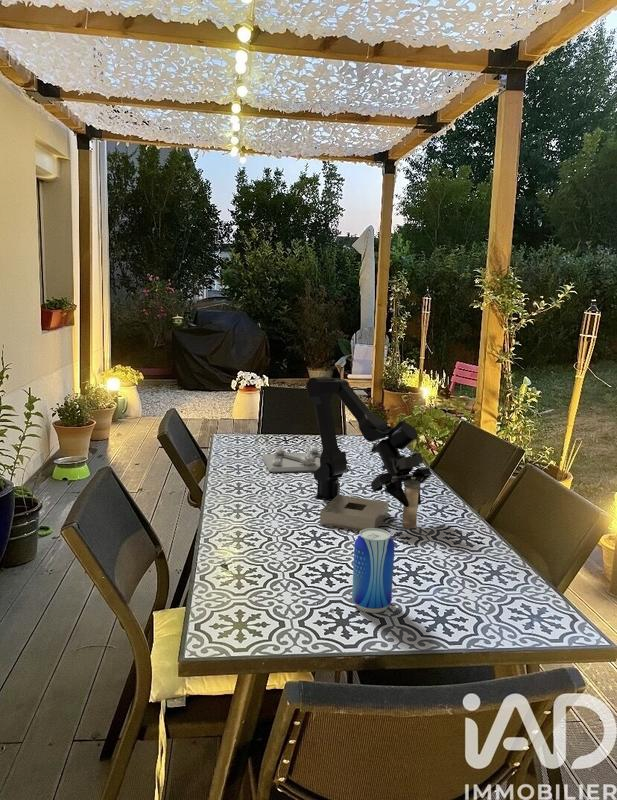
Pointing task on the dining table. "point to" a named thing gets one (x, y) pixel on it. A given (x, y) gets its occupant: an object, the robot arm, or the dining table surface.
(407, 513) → the ash pin
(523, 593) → the dining table surface
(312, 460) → the grey linkage board
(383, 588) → the beer can
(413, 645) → the dining table surface
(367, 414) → the robot arm
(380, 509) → the grey square block
